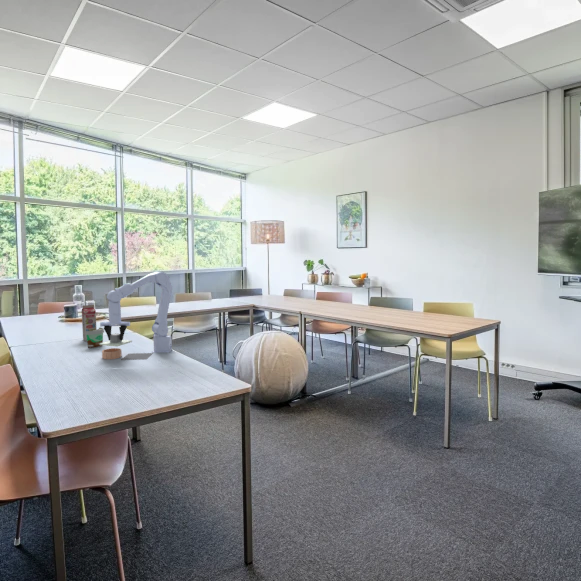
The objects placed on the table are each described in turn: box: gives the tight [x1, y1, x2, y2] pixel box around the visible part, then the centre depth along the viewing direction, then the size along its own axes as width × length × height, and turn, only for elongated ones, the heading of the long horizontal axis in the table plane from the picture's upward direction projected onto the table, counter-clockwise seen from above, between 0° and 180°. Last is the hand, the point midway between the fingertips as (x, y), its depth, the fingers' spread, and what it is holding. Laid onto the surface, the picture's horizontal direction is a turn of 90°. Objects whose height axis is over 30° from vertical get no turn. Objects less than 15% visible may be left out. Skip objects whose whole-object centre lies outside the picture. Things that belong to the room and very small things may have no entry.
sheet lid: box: [100, 333, 133, 347], centre depth 214 cm, size 11×11×5 cm
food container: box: [86, 327, 105, 349], centre depth 241 cm, size 12×6×10 cm, turn 168°
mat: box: [120, 352, 154, 361], centre depth 216 cm, size 13×13×1 cm
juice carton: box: [81, 304, 97, 342], centre depth 258 cm, size 7×7×22 cm
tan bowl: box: [101, 347, 123, 360], centre depth 215 cm, size 9×9×4 cm
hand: (115, 339), depth 214 cm, fingers closed on sheet lid, 5 cm apart
